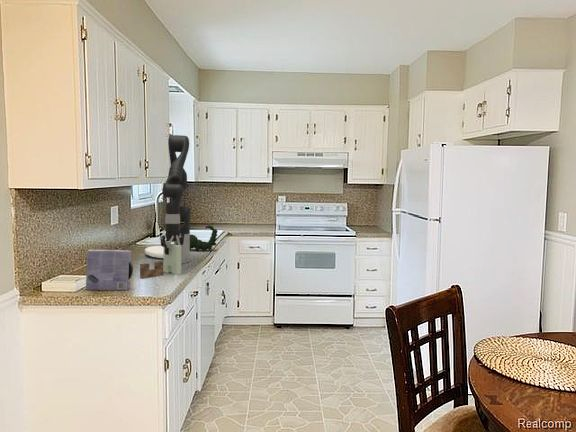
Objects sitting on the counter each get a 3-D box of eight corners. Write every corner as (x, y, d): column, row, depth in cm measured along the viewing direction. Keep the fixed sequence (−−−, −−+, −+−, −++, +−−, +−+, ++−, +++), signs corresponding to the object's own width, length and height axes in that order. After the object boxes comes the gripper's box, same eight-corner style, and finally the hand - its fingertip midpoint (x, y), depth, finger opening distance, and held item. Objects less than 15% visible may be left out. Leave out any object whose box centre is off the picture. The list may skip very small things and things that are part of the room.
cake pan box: (133, 287, 208) (133, 249, 206) (131, 290, 203) (131, 251, 201) (88, 287, 205) (88, 249, 203) (85, 290, 200) (85, 250, 198)
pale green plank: (163, 271, 243) (163, 243, 242) (168, 270, 246) (168, 243, 244) (176, 275, 236) (176, 246, 235) (181, 274, 239) (181, 245, 237)
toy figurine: (215, 252, 319) (179, 248, 317) (218, 225, 318) (182, 221, 315) (214, 254, 310) (177, 250, 308) (217, 227, 308) (180, 222, 306)
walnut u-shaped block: (142, 278, 226) (142, 264, 225) (140, 277, 227) (140, 264, 227) (163, 275, 235) (163, 261, 235) (160, 274, 237) (160, 261, 236)
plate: (198, 249, 293) (166, 254, 271) (197, 258, 294) (165, 265, 272) (168, 240, 308) (135, 244, 286) (168, 249, 309) (135, 254, 287)
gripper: (179, 221, 247) (178, 251, 248) (156, 222, 235) (156, 254, 237) (188, 222, 242) (187, 253, 243) (165, 223, 231) (165, 256, 232)
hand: (172, 253), depth 240 cm, fingers open, 6 cm apart
